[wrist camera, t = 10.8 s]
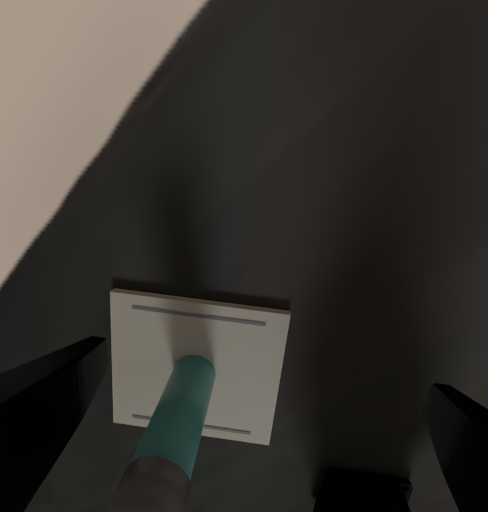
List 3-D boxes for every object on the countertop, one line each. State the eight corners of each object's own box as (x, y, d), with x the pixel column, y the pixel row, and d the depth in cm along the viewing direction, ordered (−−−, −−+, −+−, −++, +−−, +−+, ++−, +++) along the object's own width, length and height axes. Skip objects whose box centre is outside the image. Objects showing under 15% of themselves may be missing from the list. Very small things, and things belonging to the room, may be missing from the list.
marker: (218, 356, 22) (180, 508, 13) (215, 394, 23) (177, 561, 14) (173, 350, 22) (101, 495, 13) (171, 388, 23) (104, 549, 14)
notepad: (289, 310, 21) (290, 315, 21) (268, 438, 25) (268, 446, 24) (114, 288, 22) (109, 291, 21) (116, 416, 25) (113, 423, 25)
